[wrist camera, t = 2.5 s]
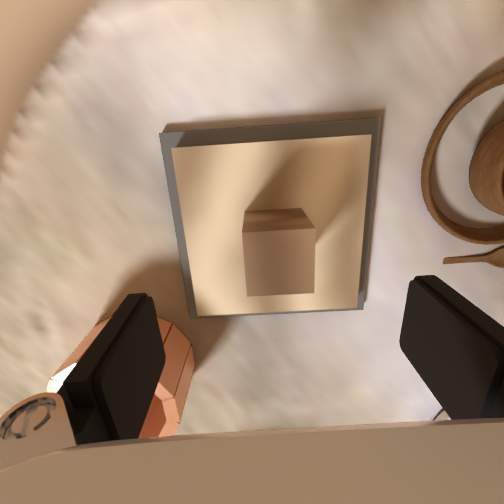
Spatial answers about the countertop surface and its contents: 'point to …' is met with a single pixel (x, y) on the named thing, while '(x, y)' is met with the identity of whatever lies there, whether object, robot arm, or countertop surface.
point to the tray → (264, 135)
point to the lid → (274, 223)
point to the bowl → (169, 386)
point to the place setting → (474, 180)
